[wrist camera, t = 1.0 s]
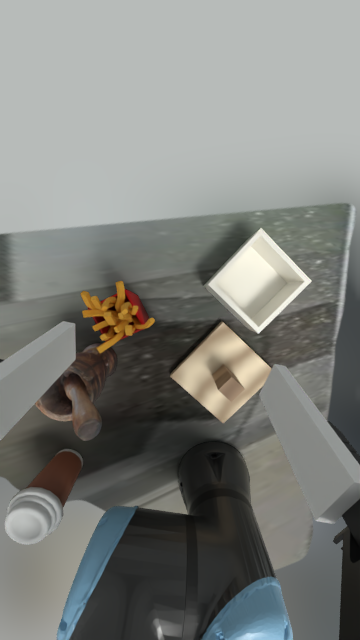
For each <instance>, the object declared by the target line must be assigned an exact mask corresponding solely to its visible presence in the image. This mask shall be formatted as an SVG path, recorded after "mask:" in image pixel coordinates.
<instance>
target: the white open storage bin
mask: <svg viewBox="0 0 360 640" xmlns="http://www.w3.org/2000/svg"><path fill="white" fill-rule="evenodd" d="M310 282H311V280H310V279H309V278H308V277H307V276H306V275H305V274H304V273H303V272H302V270H301V269H300V268H299V267H298V266H297V265H296V264H295V263H294V262H293V261H292V260H291V259H290V258H289V257H288V256H287V255H286V254H285V253H284V252H283V251H282V249H281V248H280V247H279V246H278V245H277V244H276V243H275V242H274V241H273V240H272V239H271V238H270V237H269V236H268V235H267V234H266V233H265V232H264V231H263V230H262V228H261V229H259V230H258V231H257V232H256V233H254V234H253V235H252V236H251V237H249V238H248V239H247V240H246V241H245V242H244V243H243V244H242V245H241V247H240V248H239V249H238V250H237V251H236V252H235V253H234V254H233V255H232V256H231V257H230V258H229V259H228V260H227V261H226V262H225V264H224V265H223V266H222V267H221V268H220V269H219V270H218V271H217V272H216V273H215V274H214V275H213V276H212V277H211V278H210V279H209V281H208V282H207V283H206V284H205V285H204V287H205V288H206V289H207V290H208V291H209V292H210V293H211V294H212V295H213V296H214V297H215V298H216V299H217V300H218V301H219V302H220V303H222V304H223V305H224V306H225V307H226V308H227V309H228V310H229V311H230V312H231V313H232V314H233V315H234V316H235V317H236V318H237V319H238V320H239V321H240V322H241V323H242V324H243V325H244V326H245V327H246V328H248V329H250V330H252V331H254V332H256V333H258V334H259V333H260V332H261V331H262V330H263V329H264V328H265V327H266V326H267V325H268V324H269V323H270V322H271V321H272V320H273V319H274V318H275V317H276V316H277V315H278V314H279V313H280V312H281V311H282V310H283V309H284V308H285V307H286V306H287V305H288V304H289V303H290V302H291V301H292V300H293V299H294V298H295V297H296V296H297V295H298V294H299V293H300V292H301V291H302V290H303V289H304V288H305V287H306V286H307V285H308V284H309V283H310Z"/></svg>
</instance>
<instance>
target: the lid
mask: <svg viewBox="0 0 360 640" xmlns="http://www.w3.org/2000/svg"><path fill="white" fill-rule="evenodd" d="M271 370H272V369H271V368H270V367H269V366H268V365H267V364H266V363H265V362H264V361H263V360H262V359H261V358H260V357H259V356H258V355H257V354H256V353H255V352H254V351H253V350H252V349H251V348H250V347H249V346H247V345H246V344H245V343H244V342H243V341H242V340H241V339H240V338H239V337H238V336H237V335H236V334H235V333H234V332H233V331H232V330H231V329H230V328H229V327H228V326H227V325H226V324H225V323H223V322H222V321H221V322H220V323H219V324H218V325H217V326H216V327H215V329H214V330H213V331H212V332H211V333H210V334H209V335H208V336H207V337H206V338H205V339H204V340H203V341H202V342H201V343H200V344H199V345H198V346H197V347H196V348H195V349H194V350H193V351H192V352H191V353H190V354H189V355H188V356H187V357H186V358H185V359H184V360H183V361H182V362H181V363H180V364H179V365H178V366H177V367H176V368H175V369H174V370H173V371H172V372H171V374H170V377H171V378H173V379H174V380H175V381H176V382H177V383H178V384H179V385H181V386H182V387H183V388H184V389H185V390H186V391H187V392H188V393H190V394H191V395H192V396H193V397H194V398H195V399H196V400H197V401H199V402H200V403H201V404H202V405H203V406H204V407H205V408H206V409H208V410H209V411H210V412H211V413H212V414H213V415H214V416H215V417H217V418H218V419H219V420H220V421H221V422H222V423H224V422H225V421H226V420H227V419H229V418H230V417H231V416H232V415H233V414H234V413H235V412H236V411H237V410H238V409H239V408H240V407H241V406H242V405H243V404H244V403H245V402H246V401H247V400H249V399H250V398H251V397H252V396H253V395H254V394H255V393H256V392H257V391H258V390H259V389H260V388H261V387H262V386H263V385H264V384H265V382H266V380H267V378H268V376H269V374H270V372H271Z"/></svg>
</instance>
